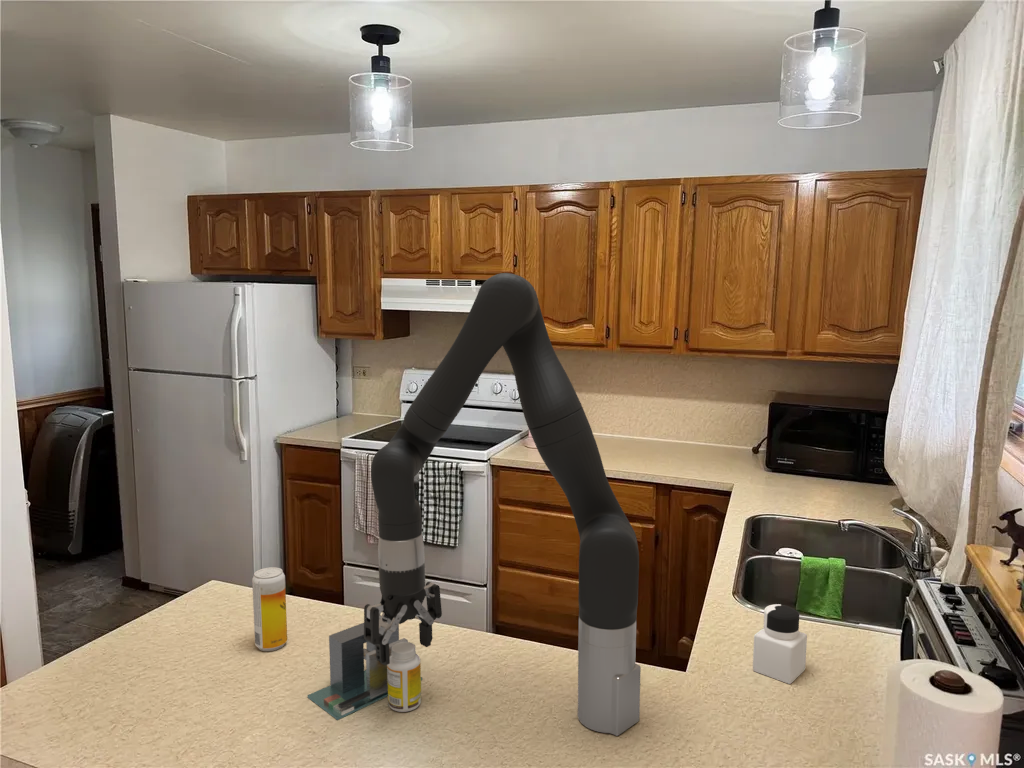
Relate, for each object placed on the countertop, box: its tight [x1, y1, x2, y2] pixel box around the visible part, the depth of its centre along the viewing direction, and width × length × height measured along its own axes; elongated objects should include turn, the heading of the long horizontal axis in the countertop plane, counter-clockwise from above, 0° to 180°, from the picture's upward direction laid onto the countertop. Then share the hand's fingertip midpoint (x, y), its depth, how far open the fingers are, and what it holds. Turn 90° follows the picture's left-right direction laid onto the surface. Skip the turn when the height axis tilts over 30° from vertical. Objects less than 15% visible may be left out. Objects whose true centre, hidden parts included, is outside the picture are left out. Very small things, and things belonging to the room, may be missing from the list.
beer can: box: [251, 566, 288, 652], centre depth 142 cm, size 6×6×15 cm
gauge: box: [306, 618, 423, 721], centre depth 126 cm, size 10×18×10 cm, turn 135°
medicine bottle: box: [752, 603, 808, 685], centre depth 132 cm, size 7×7×12 cm
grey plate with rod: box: [338, 637, 409, 709], centre depth 125 cm, size 8×14×8 cm, turn 135°
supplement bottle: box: [387, 641, 422, 713], centre depth 121 cm, size 6×6×10 cm
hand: (405, 654), depth 121 cm, fingers open, 8 cm apart
